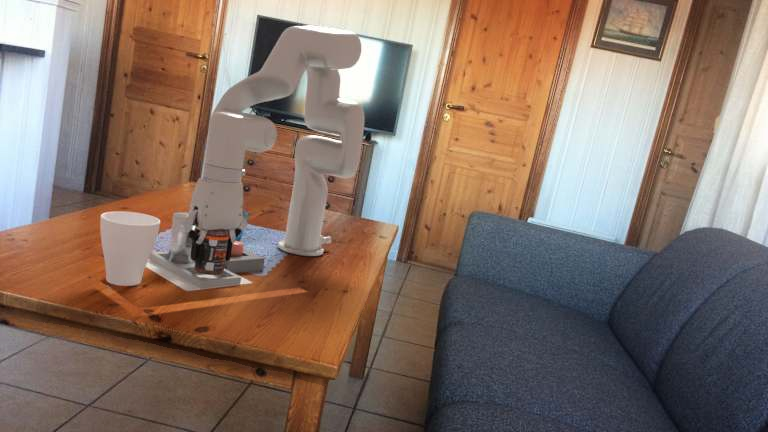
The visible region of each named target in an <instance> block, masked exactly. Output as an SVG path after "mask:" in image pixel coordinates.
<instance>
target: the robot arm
mask: <svg viewBox="0 0 768 432" xmlns="http://www.w3.org/2000/svg"><path fill="white" fill-rule="evenodd" d="M361 54H362V42H361V40H360V37H359V36H358V34H357V33H355V32H353V31H347V30H344V29H343V30H341V29H336V28H330V27H329V28H328V27H322V26H316V25H302V26H301V25H293V26H289V27H287V28H285V29H284V31H282V33H281V35H280V36H279V38H278V40H277V42H276V43H275V45H274V46H273V48H272V50H271V51H270V53H269V55H268V57H267V59H266V60H265V62H264V63H263V65H262V67H261V69H260V70H258V71H257V72H255V73H253V74H251V75H249V76H247V77H245V78H243V79H242V80H240V81H239V82H236V83H235V84H234V85H232V86H231V87H229V88H228V89H227V90H226V91H225V92H224V94H223V95H222V96H221V98H220V100H219V101H218V103H217V104H216V106H215V108H214V109H213V112H212V114H211V116H210V119H209V122H208V133H207V141H206V148H205V149H206V150H205V155H204V164H203V171H202V177H200V178H197V182H196V184H195V187H194V190H193V194H192V196H191V201H190V206H189V210H188V213H189V216H188V217H187V218H186V219H185V220H184V221H183V222H182V223H181V224H180V227H181V228H182V229H183V230H184V231H185V232H186V234H187V235H188V236H189V238H190V240H191V241H192V247H191V259H192V260H193V261H195V262H197V263H202V260H203V253H204V244H202V242H203V240H204V238H205V236H206V234H207V232H208V231H213V230H218V229H225V230H228V232H229V240H228V246H227V253H226V259H225V260H226V261H229V260H230V256H231V251H232V244H233V242H235V241H237V238H238V237H239V236H240V234H242V231H244V230H245V229H246V228H247V227H248V222H247V220H246V219H245V217H244V216H243V209H244V208H243V207H244V188H243V187H244V186H243V183H242V177H245V176H246V174H247V173H246V170H245V169H244V162H245V155H246V151H251V152H254V153H263V152H268V151H269V150H270V149H272V148H273V147H274V145H275V144H276V142H277V138H278V131H277V127H276V124H274V122H273V121H272V120H271V119H269V118H267V117H264V116H261V115H256V114H251V113H248V112H244V111H245V110H246V109H249V108H250V107H252V106H254V105H257V104H260V103H264V102H265V103H266V102H271V101H274V100H280V99H283V98H286V97H290V96H291V95H292V94H293V93H294V92H295V91H296V89H297V86H298V84H299V82H300V81H301V79H302V77H303V75H304V73H305V72H306V76H307V79H306V80H307V81H306V83H307V84H306V92H305V102H304V103H305V104H304V119H303V120H304V123H305V126H306V127H307V129H310V130H312V131H315V132H319V133H321V134H322V133H323V134H327V135H328V134H329V135H332V136H336V137H337V136H338V137H339V138H340V140H337V139H333V138H330V137H325V136H320V135H314V134H311V135H304V136H302V137H300V138H299V140H298V141H297V142H296V145H295V148H294V163H295V164H294V178H293V186H292V192H291V198H290V204H289V210H288V215H287V221H286V222H287V224H286V229H285V236H284V239H282V240H280V241H278V243H277V248H278V249H280V250H281V251H283V252H285V253H289V254H293V255H297V256H303V257H318V256H322V255H323V254H324V252H325V249H324V248H323V246H322V245H323V244H331V243H332V237H331V236H324V235H322V230H323V224H324V223H323V222H324V218H325V213H326V204H327V202H328V201H327V199H328V195H329V188H328V184H327V179H325V178H326V177H325V176H324V175H328V176H333V177H336V178H341V179H350V178H353V177H354V176H355V175H356V174H357V172H358V170H359V166H360V159H361V153H362V146H363V145H362V144H363V137H364V130H365V129H364V128H365V122H366V121H365V118H366V117H365V112H364V109H363V106H362V105H361V104H359V103H358V102H357V101H354V100H349V99H344V98H341V97H340V92H341V90H340V89H341V76H340V72H339V70H345V69H350V68H353V67H354V66H356V64H357V63H358V61H359V60H360V58H361ZM191 225H193V226H195V228H194V230H193V229H192V228H191ZM200 230H201V231H200ZM199 232H200V233H199Z"/></svg>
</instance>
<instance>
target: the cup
mask: <svg viewBox="0 0 768 432" xmlns="http://www.w3.org/2000/svg"><path fill="white" fill-rule="evenodd" d="M99 221H100V222H99V223H100V225H99V227H100V228H99V230H100V231H99V232H100V239H101V248H102V253H103V258H104V265H105V280H106V282H107V283H109V284H110V285H115V286H121V287H123V286H124V287H129V286H130V287H132V286H137V285H140V284H141V283H142V278H143V274H144V272H145V270H146V268H147V267H146V264H147V262H148V259H150V257H151V253H153V250H154V247H155V244H156V240H157V239H158V235H159V230H160V226H161V220H160V219H159V218H158V217H156V216H153V215H150V214H146V213H141V212H133V211H117V210H116V211H106V212H103V213H101V214H100V220H99ZM105 286H106V287H107V288H108V289H110V290H114V289H113V288H112V287H111V286H109V285H107V284H106V285H105Z"/></svg>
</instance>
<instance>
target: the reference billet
mask: <svg viewBox="0 0 768 432" xmlns="http://www.w3.org/2000/svg"><path fill="white" fill-rule="evenodd" d="M188 216H189V212H185V211H184V212H181V211H180V212H179V211H178V212H173V215H172V220H171V221H172V223H171V228H170V229H171V231H170V238H169V239H170V240H169V245H168V246H169V247H168V252H169V253H168V260H169V261H171V262H173V263H174V264H188V263H195V261H193V260H192V259H191V247H192V241H191V240H190V238H189V236H188V235H187V234H186V232H185V231H184V230H183V229H182V228H181V227H180V224H181V223H182V222H183V221H184V220H185V219H186V218H187V217H188ZM191 228H192V229H193V230H194V228H195V226H193V225H191ZM199 233H200V232H199Z"/></svg>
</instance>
